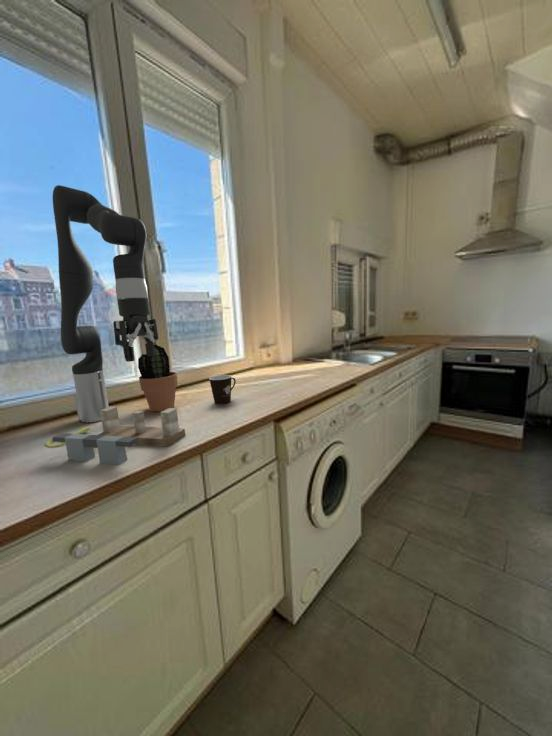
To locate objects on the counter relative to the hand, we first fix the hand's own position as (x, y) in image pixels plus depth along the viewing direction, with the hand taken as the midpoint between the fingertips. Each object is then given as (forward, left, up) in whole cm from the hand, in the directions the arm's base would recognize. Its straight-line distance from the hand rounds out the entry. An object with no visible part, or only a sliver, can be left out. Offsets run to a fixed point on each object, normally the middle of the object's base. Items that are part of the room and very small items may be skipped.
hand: (141, 358), depth 85 cm
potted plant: (-18, +30, -24) cm, 42 cm away
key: (-28, -2, -24) cm, 37 cm away
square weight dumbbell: (-7, -12, -24) cm, 28 cm away
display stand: (-5, +2, -24) cm, 24 cm away
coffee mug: (+4, +41, -24) cm, 47 cm away
